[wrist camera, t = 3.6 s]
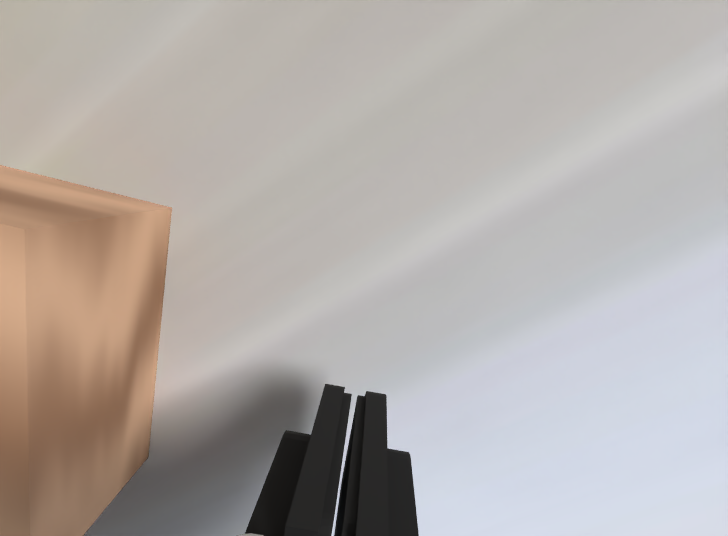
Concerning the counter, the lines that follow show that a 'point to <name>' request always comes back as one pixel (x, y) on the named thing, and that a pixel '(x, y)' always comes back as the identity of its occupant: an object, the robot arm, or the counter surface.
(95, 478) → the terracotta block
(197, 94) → the counter surface
